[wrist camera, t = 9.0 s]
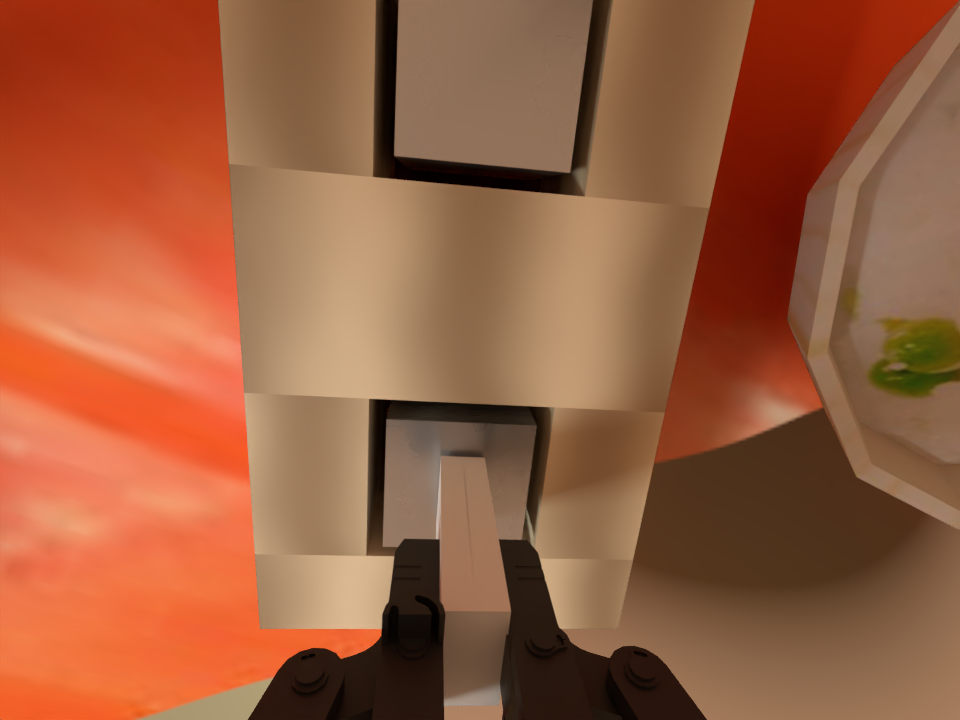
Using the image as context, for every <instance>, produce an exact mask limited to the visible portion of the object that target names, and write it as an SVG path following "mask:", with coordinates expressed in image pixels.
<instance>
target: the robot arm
mask: <svg viewBox="0 0 960 720" xmlns="http://www.w3.org/2000/svg"><path fill="white" fill-rule="evenodd" d="M500 693H501V696H502V705H503V716H502V720H707V719H706V718H705V717H704V715H703V714H702V712H701V711H700V710H699V708H698V707H697V706H696V704H695V703H694V702H693V700H692V699H691V698H690V696H689V695H688V694H687V692H686V691H685V690H684V688H683V687H682V686H681V684H680V683H679V681H678V680H677V679H676V678H675V676H674V675H673V673H672V672H671V671H670V669H669V668H668V667H667V665H666V664H665V663H663V661H662V660H661V659H660V658H659V657H658V656H656V655H654V654H653V653H651V652H650V651H648V650H646V649H643V648H639V647H636V646H623V647H621V648H619V649H617V650H615V651H614V653H613V654H612V656H611V657H610V658H607V657H604V656H600V655H597V654H593V653H590V652H587V651H585V650H582V649H580V648H579V647H577V646H575V645H574V644H572V643H571V642H570V640H569V638H568V636H567V634H565V633H564V632H563V631H562V630H561V629H560V628H559V626H558V623H557V620H556V616H555V612H554V609H553V605H552V602H551V598H550V594H549V591H548V587H547V584H546V581H545V576H544V573H543V569H542V565H541V562H540V558H539V555H538V552H537V551H536V550H535V548H534V547H533V546H532V545H531V544H530V542H529V541H528V540H508V539H499V538H498V532H497V526H496V521H495V515H494V509H493V503H492V497H491V492H490V486H489V480H488V474H487V469H486V463H485V458H483V457H455V456H441V460H440V475H439V490H438V504H437V519H436V539H404V540H403V541H402V542H401V544H400V545H399V546H398V548H397V549H396V551H395V556H394V564H393V572H392V580H391V587H390V595H389V602H388V603H387V604H386V606H385V609H384V611H383V614H382V635H381V637H380V639H379V640H378V641H377V642H376V643H375V644H374V645H373V646H372V647H370V648H369V649H367V650H366V651H363V652H361V653H359V654H356V655H353V656H350V657H346V658H343V659H340V658H339V657H338V655H337V654H336V653H334V652H332V651H330V650H327V649H324V648H311V649H308V650H304V651H301V652H299V653H297V654H295V655H294V656H292V657H291V658H289V659H288V660H287V661H286V662H285V663H284V664H283V665H282V667H281V668H280V669H279V670H278V672H277V673H276V675H275V677H274V678H273V680H272V682H271V683H270V685H269V686H268V688H267V690H266V691H265V693H264V695H263V696H262V698H261V700H260V701H259V703H258V704H257V706H256V708H255V709H254V711H253V712H252V714H251V716H250V717H249V719H248V720H444V706H475V705H499V700H500Z"/></svg>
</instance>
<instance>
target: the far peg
mask: <svg viewBox="0 0 960 720" xmlns="http://www.w3.org/2000/svg"><path fill="white" fill-rule="evenodd" d="M536 428H537V425H536V423H535V420H534V418H533V416H532V414H531V411H530V409H529V407H528V406H513V405H492V404H471V403H449V402H428V401H407V400H391V402H390V406H389V410H388V415H387V419H386V451H385V486H384V520H383V547H398V546H399V545H400V544H401V542H402V541H403V540H404V539H436V519H437V504H438V490H439V475H440V460H441V456H455V457H483V458H485V463H486V469H487V474H488V480H489V486H490V492H491V497H492V503H493V509H494V515H495V521H496V526H497V532H498V538H499V539H508V540H522V533H523V526H524V518H525V511H526V503H527V496H528V488H529V481H530V473H531V465H532V458H533V450H534V443H535V435H536Z"/></svg>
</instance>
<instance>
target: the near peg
mask: <svg viewBox="0 0 960 720" xmlns="http://www.w3.org/2000/svg"><path fill="white" fill-rule="evenodd" d="M592 4H593V0H399V5H398V39H397V74H396V108H395V143H394V156H395V157H396V158H397V159H398V160H399V161H400V162H401V163H402V164H403V165H405V166H406V167H407V168H408V169H417V170H427V171H438V172H448V173H459V174H469V175H480V176H491V177H501V178H512V179H522V180H534V179H540V178H545V177H551V176H556V175H561V174H567V173H570V170H571V163H572V155H573V148H574V140H575V132H576V125H577V117H578V110H579V102H580V95H581V87H582V79H583V72H584V64H585V57H586V49H587V42H588V34H589V27H590V19H591V11H592Z"/></svg>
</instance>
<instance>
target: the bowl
mask: <svg viewBox="0 0 960 720" xmlns="http://www.w3.org/2000/svg"><path fill="white" fill-rule="evenodd" d="M787 321H788V323H789V326H790V328H791V330H792V333H793V335H794V338H795V340H796V342H797V345H798V347H799V350H800V352H801V354H802V357H803V359H804V362H805V364H806V366H807V369H808V371H809V374H810V376H811V378H812V381H813V383H814V386H815V388H816V390H817V393H818V395H819V398H820V400H821V403H822V405H823V407H824V410H825V412H826V414H827V416H828V418H829V420H830V422H831V424H832V427H833V429H834V431H835V433H836V435H837V437H838V439H839V441H840V443H841V445H842V447H843V450H844V452H845V454H846V456H847V458H848V460H849V462H850V464H851V466H852V469H853V471H854V473H855V475H856V477H858V478H859V479H862V480H863V481H865V482H867V483H869V484H871V485H873V486H875V487H877V488H879V489H881V490H883V491H885V492H887V493H888V494H890V495H892V496H894V497H896V498H898V499H900V500H902V501H904V502H906V503H908V504H910V505H912V506H914V507H916V508H917V509H919V510H922V511H923V512H925V513H927V514H929V515H931V516H933V517H935V518H937V519H939V520H941V521H943V522H945V523H946V524H949V525H950V526H952V527H954V528H956V529H960V0H959V1H958V2H957V3H956V4H955V5H954V6H953V7H952V8H951V9H950V10H949V11H948V12H947V13H946V14H945V15H944V16H943V17H942V18H941V19H940V20H939V21H938V22H937V23H936V24H935V25H934V26H933V27H932V28H931V29H930V30H929V31H928V32H927V33H926V34H925V35H924V36H923V37H922V38H921V39H920V40H919V41H918V42H917V43H916V44H915V45H914V46H913V47H912V48H911V49H910V50H909V51H908V52H907V53H906V54H905V55H904V56H903V57H902V58H901V59H900V60H899V61H898V62H897V63H896V64H895V65H894V66H893V68H892V69H891V71H890V72H889V74H888V75H887V77H886V78H885V80H884V81H883V83H882V84H881V86H880V87H879V89H878V90H877V92H876V93H875V95H874V96H873V98H872V99H871V101H870V102H869V104H868V105H867V107H866V108H865V110H864V111H863V112H862V114H861V115H860V117H859V118H858V120H857V121H856V123H855V124H854V126H853V127H852V129H851V130H850V132H849V133H848V135H847V136H846V138H845V139H844V141H843V142H842V144H841V145H840V147H839V148H838V150H837V151H836V153H835V154H834V156H833V157H832V159H831V160H830V162H829V163H828V165H827V166H826V168H825V169H824V171H823V172H822V174H821V175H820V176H819V178H818V179H817V181H816V182H815V184H814V185H813V187H812V188H811V190H810V191H809V193H808V194H807V200H806V207H805V213H804V219H803V225H802V231H801V237H800V243H799V249H798V255H797V261H796V267H795V274H794V280H793V286H792V292H791V298H790V304H789V310H788V316H787Z"/></svg>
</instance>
